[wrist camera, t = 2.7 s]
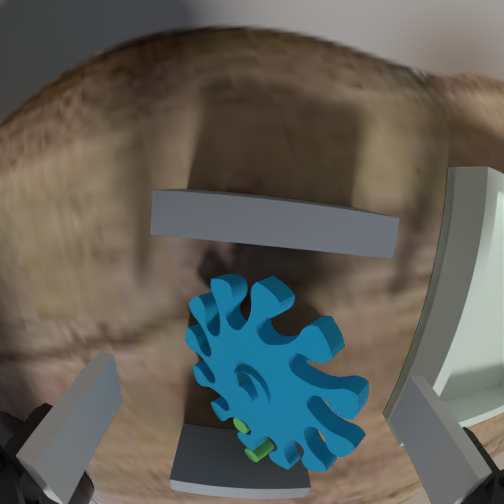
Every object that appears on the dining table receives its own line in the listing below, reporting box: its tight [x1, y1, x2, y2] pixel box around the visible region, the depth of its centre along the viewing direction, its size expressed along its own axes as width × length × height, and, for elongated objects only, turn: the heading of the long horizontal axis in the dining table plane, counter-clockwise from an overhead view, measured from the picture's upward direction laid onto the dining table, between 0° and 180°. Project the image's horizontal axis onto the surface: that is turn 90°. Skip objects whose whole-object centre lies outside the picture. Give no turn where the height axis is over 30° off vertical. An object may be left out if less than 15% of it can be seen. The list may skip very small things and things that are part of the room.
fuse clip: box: [150, 189, 400, 499], centre depth 13 cm, size 8×16×5 cm, turn 174°
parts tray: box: [383, 166, 504, 446], centre depth 13 cm, size 14×17×4 cm
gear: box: [185, 274, 369, 472], centre depth 13 cm, size 11×6×10 cm
